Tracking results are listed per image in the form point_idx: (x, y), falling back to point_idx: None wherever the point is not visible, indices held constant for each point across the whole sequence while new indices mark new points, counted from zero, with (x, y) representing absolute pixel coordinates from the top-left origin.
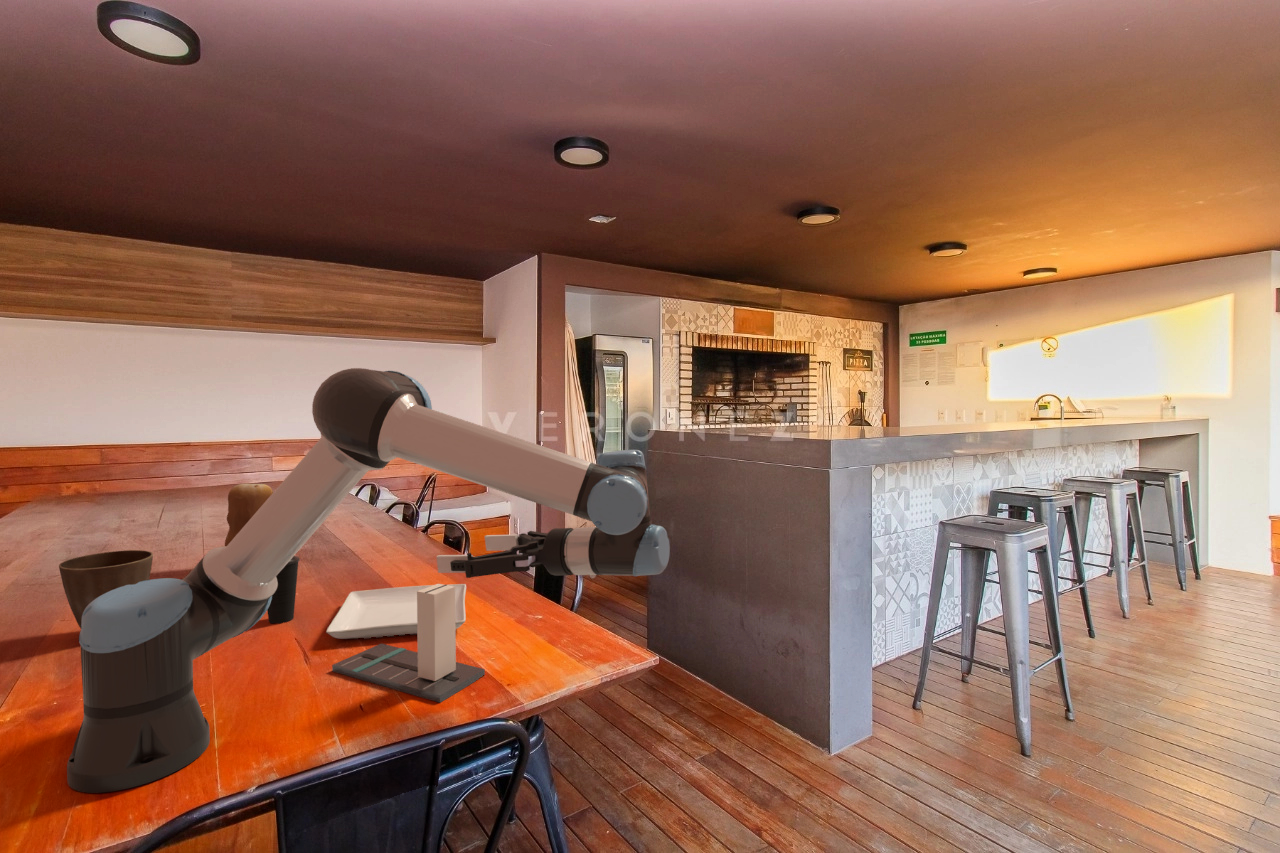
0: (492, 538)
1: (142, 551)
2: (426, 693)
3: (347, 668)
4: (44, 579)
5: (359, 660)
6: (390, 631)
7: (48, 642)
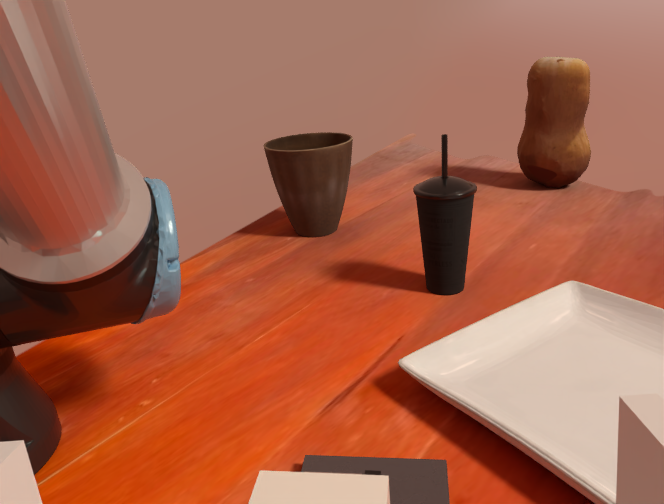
0: (660, 465)
1: (350, 137)
2: None
3: None
4: (395, 153)
5: None
6: (501, 435)
7: (280, 222)
